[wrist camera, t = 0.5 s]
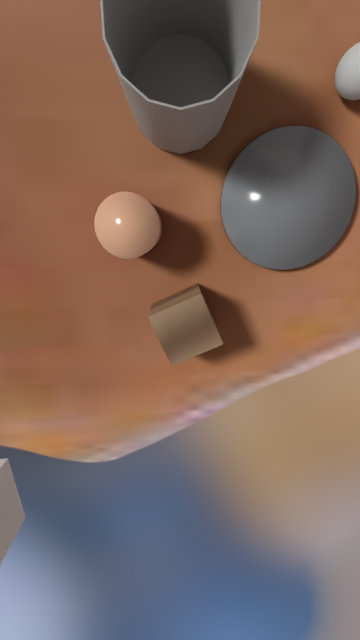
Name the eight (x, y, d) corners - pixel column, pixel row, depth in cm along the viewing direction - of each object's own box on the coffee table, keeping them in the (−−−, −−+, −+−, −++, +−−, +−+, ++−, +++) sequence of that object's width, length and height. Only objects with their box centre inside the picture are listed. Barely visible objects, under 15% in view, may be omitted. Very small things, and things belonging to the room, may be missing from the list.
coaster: (217, 135, 26) (218, 132, 25) (357, 122, 25) (362, 119, 25) (222, 273, 29) (223, 274, 28) (345, 263, 29) (350, 264, 28)
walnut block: (152, 303, 30) (147, 317, 25) (197, 283, 30) (201, 293, 25) (173, 345, 31) (172, 365, 27) (216, 326, 31) (223, 344, 26)
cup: (242, 53, 24) (283, -64, 15) (216, 163, 26) (237, 124, 17) (139, 25, 24) (112, -116, 14) (122, 139, 26) (89, 86, 16)
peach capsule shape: (105, 200, 27) (89, 194, 23) (159, 196, 27) (155, 188, 22) (113, 256, 29) (100, 261, 24) (164, 252, 29) (161, 256, 24)
